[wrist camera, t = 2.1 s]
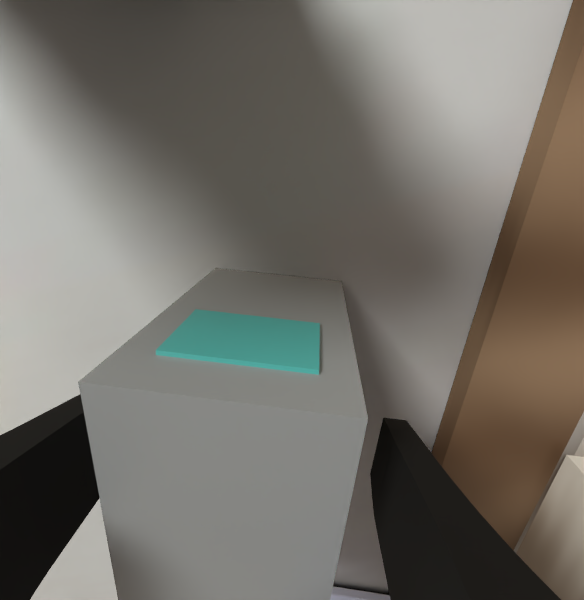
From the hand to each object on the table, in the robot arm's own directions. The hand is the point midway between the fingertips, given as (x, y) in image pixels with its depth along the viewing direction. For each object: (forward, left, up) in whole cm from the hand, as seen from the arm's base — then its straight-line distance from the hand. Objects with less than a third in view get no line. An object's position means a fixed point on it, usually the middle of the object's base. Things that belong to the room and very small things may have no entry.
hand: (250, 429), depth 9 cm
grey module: (0, 0, -4) cm, 4 cm away
